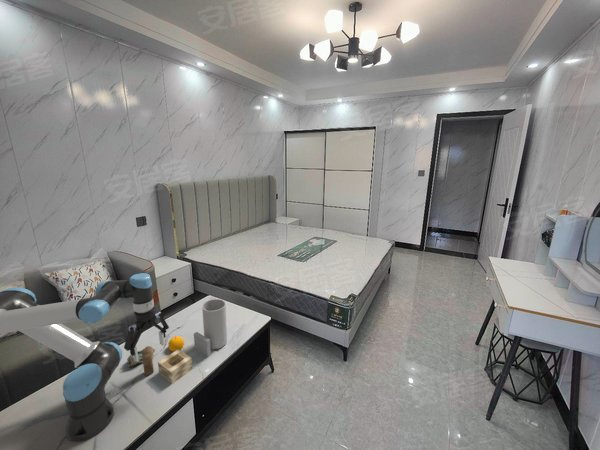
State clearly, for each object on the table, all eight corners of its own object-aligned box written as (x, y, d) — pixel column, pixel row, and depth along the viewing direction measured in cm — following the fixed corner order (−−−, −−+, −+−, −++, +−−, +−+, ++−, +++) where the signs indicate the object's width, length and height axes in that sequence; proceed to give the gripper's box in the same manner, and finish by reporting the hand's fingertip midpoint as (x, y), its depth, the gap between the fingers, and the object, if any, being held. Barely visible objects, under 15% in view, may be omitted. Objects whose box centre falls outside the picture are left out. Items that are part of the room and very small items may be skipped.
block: (172, 383, 124) (171, 372, 122) (159, 373, 129) (157, 362, 128) (192, 368, 133) (191, 357, 131) (179, 359, 138) (178, 349, 137)
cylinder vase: (200, 347, 149) (197, 309, 143) (212, 334, 161) (210, 297, 154) (220, 352, 146) (218, 312, 140) (230, 337, 158) (229, 301, 152)
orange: (173, 356, 142) (172, 344, 140) (166, 349, 147) (164, 338, 145) (187, 348, 148) (186, 337, 146) (179, 342, 153) (178, 331, 151)
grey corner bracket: (159, 395, 119) (156, 375, 116) (146, 384, 124) (143, 364, 122) (211, 356, 143) (209, 339, 140) (198, 348, 148) (196, 331, 145)
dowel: (147, 378, 127) (144, 354, 124) (143, 375, 129) (139, 351, 126) (155, 373, 131) (152, 349, 127) (151, 369, 133) (148, 346, 129)
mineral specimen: (129, 371, 130) (133, 356, 130) (124, 359, 136) (128, 345, 136) (154, 365, 140) (159, 352, 139) (149, 355, 146) (153, 342, 145)
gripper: (118, 325, 100) (125, 372, 106) (174, 299, 120) (178, 340, 125) (109, 319, 104) (116, 364, 110) (165, 294, 124) (169, 334, 129)
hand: (149, 351), depth 118 cm, fingers open, 11 cm apart
